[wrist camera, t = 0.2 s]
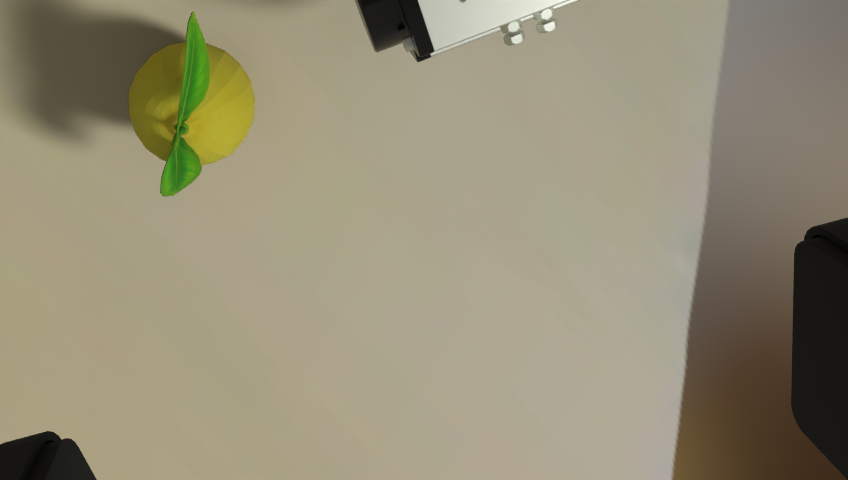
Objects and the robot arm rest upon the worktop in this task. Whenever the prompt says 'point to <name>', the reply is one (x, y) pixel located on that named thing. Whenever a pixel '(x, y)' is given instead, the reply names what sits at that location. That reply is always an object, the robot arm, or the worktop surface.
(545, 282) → the worktop surface
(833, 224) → the robot arm
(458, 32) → the pneumatic valve
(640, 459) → the worktop surface
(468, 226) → the worktop surface
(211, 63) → the lemon
